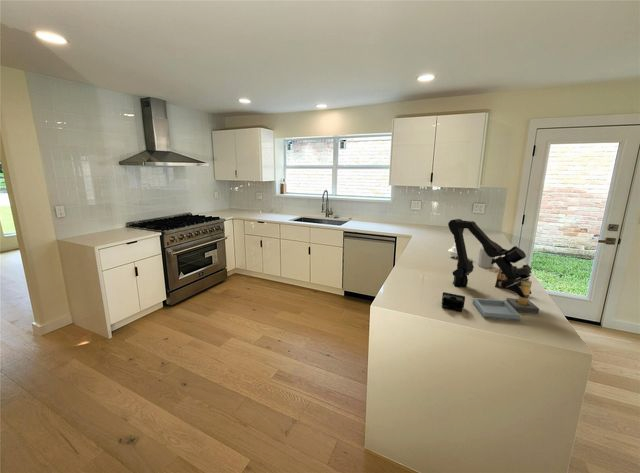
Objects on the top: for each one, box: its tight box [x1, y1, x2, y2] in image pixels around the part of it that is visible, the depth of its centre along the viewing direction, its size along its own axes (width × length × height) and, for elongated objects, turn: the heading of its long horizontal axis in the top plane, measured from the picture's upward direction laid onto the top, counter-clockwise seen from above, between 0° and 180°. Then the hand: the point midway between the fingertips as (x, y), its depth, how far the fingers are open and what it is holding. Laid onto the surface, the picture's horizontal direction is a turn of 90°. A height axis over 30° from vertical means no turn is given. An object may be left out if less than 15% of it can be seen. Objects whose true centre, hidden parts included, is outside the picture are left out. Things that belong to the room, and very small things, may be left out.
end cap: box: [441, 291, 466, 313], centre depth 140 cm, size 10×7×7 cm
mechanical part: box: [448, 242, 467, 258], centre depth 220 cm, size 11×12×12 cm
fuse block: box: [506, 297, 540, 314], centre depth 141 cm, size 10×10×2 cm
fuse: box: [517, 279, 533, 306], centre depth 140 cm, size 4×4×14 cm
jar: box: [477, 244, 496, 269], centre depth 199 cm, size 10×10×18 cm
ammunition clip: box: [494, 267, 518, 291], centre depth 162 cm, size 11×2×12 cm, turn 57°
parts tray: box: [472, 297, 522, 322], centre depth 137 cm, size 15×15×3 cm
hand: (527, 295), depth 138 cm, fingers open, 7 cm apart
